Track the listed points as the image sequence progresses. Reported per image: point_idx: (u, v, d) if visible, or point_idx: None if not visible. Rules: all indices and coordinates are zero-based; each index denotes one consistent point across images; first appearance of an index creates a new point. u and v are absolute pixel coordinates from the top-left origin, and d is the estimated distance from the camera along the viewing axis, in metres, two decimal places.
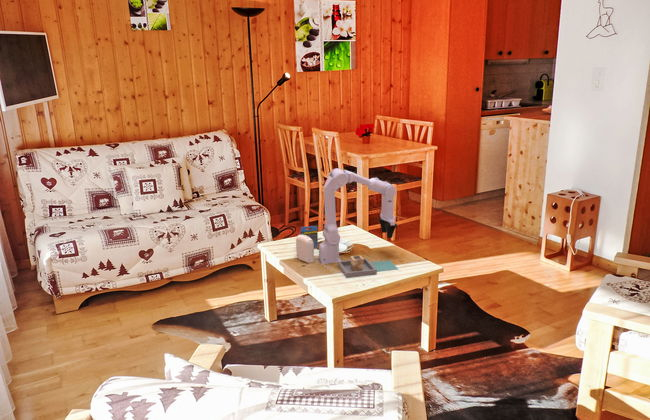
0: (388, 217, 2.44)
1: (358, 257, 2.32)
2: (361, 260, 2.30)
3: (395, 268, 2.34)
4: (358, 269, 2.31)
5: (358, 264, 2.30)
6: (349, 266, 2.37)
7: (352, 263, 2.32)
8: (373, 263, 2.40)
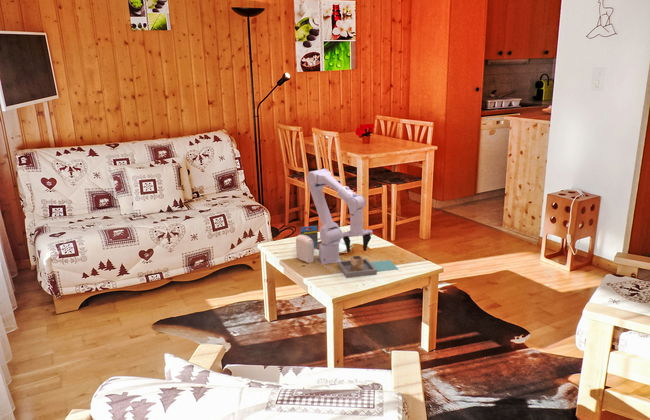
0: (350, 230, 2.29)
1: (358, 257, 2.32)
2: (361, 260, 2.30)
3: (395, 268, 2.34)
4: (358, 269, 2.31)
5: (358, 264, 2.30)
6: (349, 266, 2.37)
7: (352, 263, 2.32)
8: (373, 263, 2.40)
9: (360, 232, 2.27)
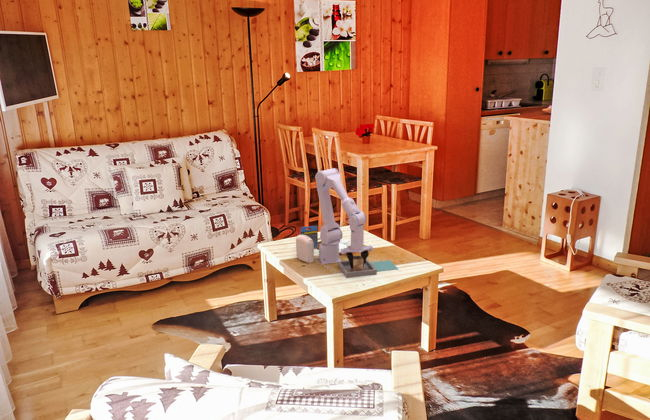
0: None
1: (358, 257, 2.32)
2: (361, 260, 2.30)
3: (395, 268, 2.34)
4: (358, 269, 2.31)
5: (358, 264, 2.30)
6: (349, 266, 2.37)
7: None
8: (373, 263, 2.40)
9: (360, 248, 2.28)
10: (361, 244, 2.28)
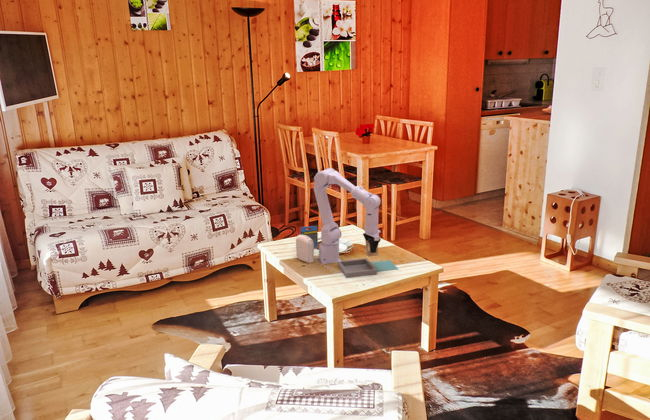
0: (372, 232, 2.28)
1: None
2: None
3: (395, 268, 2.34)
4: None
5: None
6: (349, 266, 2.37)
7: None
8: (373, 263, 2.40)
9: None
10: None
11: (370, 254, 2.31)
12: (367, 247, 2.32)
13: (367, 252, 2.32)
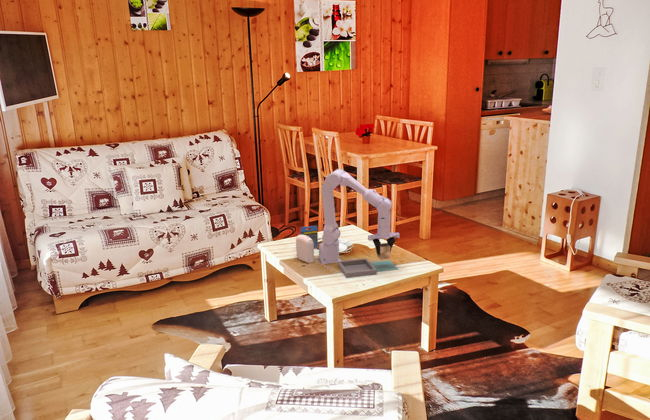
0: (377, 233, 2.33)
1: (385, 245, 2.34)
2: (388, 247, 2.33)
3: (395, 268, 2.34)
4: (385, 256, 2.34)
5: (385, 251, 2.33)
6: (349, 266, 2.37)
7: None
8: (373, 263, 2.40)
9: (387, 235, 2.31)
10: (388, 230, 2.30)
11: (377, 255, 2.36)
12: None
13: None
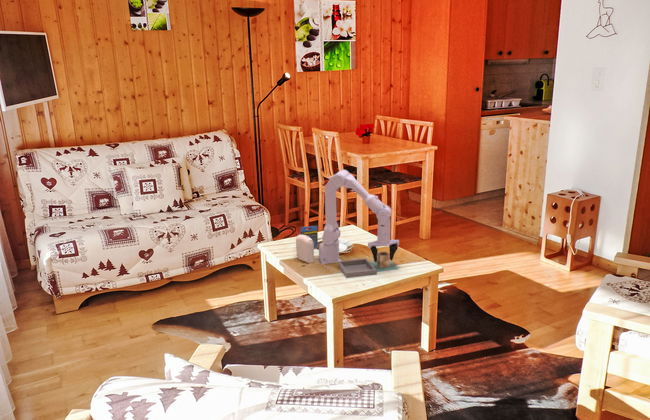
0: (377, 240, 2.34)
1: (384, 253, 2.35)
2: (387, 256, 2.34)
3: (395, 268, 2.34)
4: (384, 265, 2.35)
5: (384, 260, 2.34)
6: (349, 266, 2.37)
7: (378, 259, 2.35)
8: (373, 263, 2.40)
9: (387, 242, 2.32)
10: (388, 238, 2.31)
11: (377, 263, 2.38)
12: None
13: None
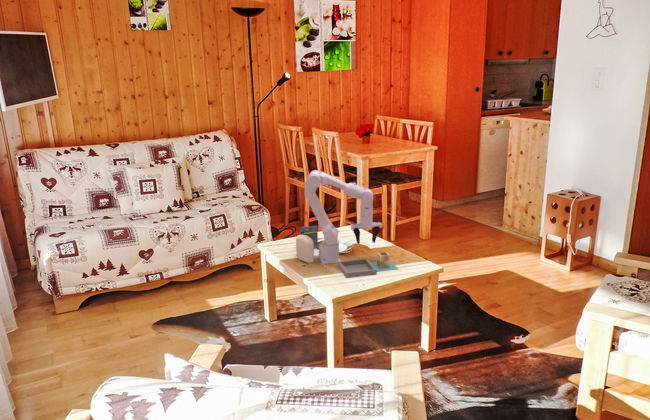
0: (360, 222, 2.39)
1: (384, 253, 2.35)
2: (387, 256, 2.34)
3: (395, 268, 2.34)
4: (384, 265, 2.35)
5: (384, 260, 2.34)
6: (349, 266, 2.37)
7: (378, 259, 2.35)
8: (373, 263, 2.40)
9: (370, 224, 2.37)
10: (370, 220, 2.36)
11: (377, 263, 2.38)
12: None
13: None
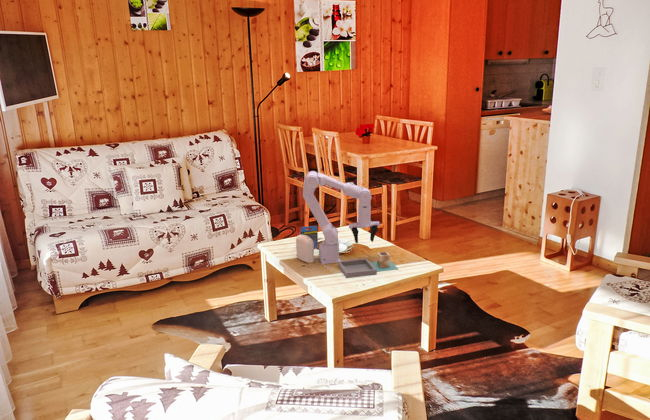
0: (358, 222, 2.40)
1: (384, 253, 2.35)
2: (387, 256, 2.34)
3: (395, 268, 2.34)
4: (384, 265, 2.35)
5: (384, 260, 2.34)
6: (349, 266, 2.37)
7: (378, 259, 2.35)
8: (373, 263, 2.40)
9: (368, 223, 2.38)
10: (368, 219, 2.37)
11: (377, 263, 2.38)
12: None
13: None
